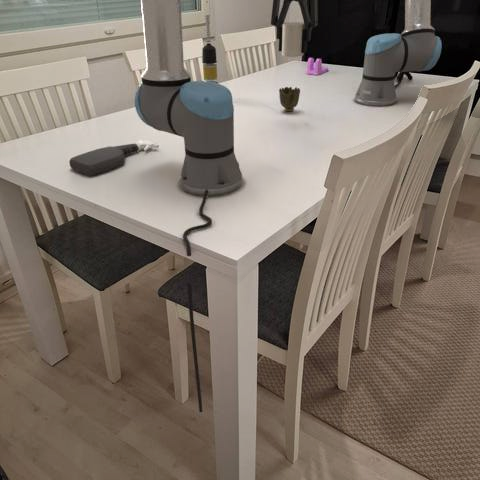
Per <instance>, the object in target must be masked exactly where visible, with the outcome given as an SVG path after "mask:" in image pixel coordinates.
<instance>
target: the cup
mask: <svg viewBox="0 0 480 480" xmlns="http://www.w3.org/2000/svg"><path fill="white" fill-rule="evenodd" d="M278 91H279V94H278V95H279V103H280V106H281V107H283V112H285V113H288V114H290V113H293V112H294V111H295V108H296V107H297V106H298V104H299V101H300V94H301V89H300V87H294V88H292V86H290V87H289V86H285V87H280V88H279V90H278Z"/></svg>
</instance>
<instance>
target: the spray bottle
mask: <svg viewBox="0 0 480 480" xmlns="http://www.w3.org/2000/svg"><path fill="white" fill-rule="evenodd" d="M159 148H160V145H159V144H158V143H155V142H151V141H148V140H144V139H139V140H138V141H137V142H135V143H129V144H128V143H126V144H122V145H113V146H105V147H100V148H97V149H94V150H90V151H87V152H83V153H81V154H78V155H74V156H73V157H70V159H69V161H68V162H69V167H70V168H71V169H72V170H74V171H75V172H78V173H81V174H83V175H85V176H89V177H90V176H91V177H92V176H95V175H99V174H102V173H105V172H107V171H110V170H113V169H116V168H118V167H120V166H122V165H123V164H124V163H125V158H126V156H127V155H131V154H133V153H138V151H140V150H143V151H144V152H146V151H147V150H149V149H159Z"/></svg>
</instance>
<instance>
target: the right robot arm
mask: <svg viewBox="0 0 480 480" xmlns="http://www.w3.org/2000/svg"><path fill="white" fill-rule="evenodd" d="M431 1H432V0H404V30H403V31H402V32H401V33H394V32H392V33H391V32H390V33H381V34H376V35H374V36H371V37H369V39H368V40H367V42H366V45H365V50H364V61H363V69H362V77H361V81H360V84H359V85H358V88H357V90H356V93H355V95H354V101H355V102H356V103H358V104H360V105H364V106H371V107H387V106H392V105H395V104H396V103H397V92H396V88H397V87H399V86H400V85H401V83H402V81H399V82H398V83H396V84H395V79H396V78H395V72H398V73H400V72H423V71H424V72H425V71H430V70H431V69H432V68H434V67H435V65H436V64H437V62H438V61H439V59H440V56H441V53H442V47H443V46H442V40H441V37H439V36H437V35H436V34H435V33H436V29H435V28H434V27H433V26H432V25H431V6H432V5H431V4H432V3H431ZM460 5H461V0H453V4H452V12H453V11H459V10H460ZM394 78H395V79H394Z"/></svg>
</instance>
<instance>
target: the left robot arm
mask: <svg viewBox="0 0 480 480" xmlns="http://www.w3.org/2000/svg"><path fill="white" fill-rule="evenodd" d="M309 1H310V13H309V8H308V4H307V2H308V1H307V0H283V1H282V6H281V9H280V5H281V0H273V1H272V9H271V17H270V25H271V26H273V27H276V39H277V40H278V52H282V28H283V23H285V20H286V18H287V15H288V11H289V9H290V6H291V4H292V2H296V3H297V2H298V5H299V9H300V12H301V16H302V20H303V23H304V24H305V29H303V33H302V51H301V53H304V54H305V53H307V52H308V42H309V41H311V38H312V29H313V28H314V27H317V26H318V25H319V17H318V15H319V13H318V0H309ZM140 4H141V14H142V15H141V16H142V25H143V35H144V36H143V37H144V49H145V57H146V58H145V60H146V69H145V70H144V71H143V72H142V74H141V83H140V84H139V85H138V86H137V90H136V91H135V93H134V108H135V111H136V114H137V116H138V117H139V119H140V120H141V121H142V122H143V123H144V124H145V125H147V126H149V127H151V128H153V129H154V130H156V131H159V132H160V131H161V132H164V133H169V134H171V135H174V136H178V137H182V138H183V143H184V154H185V155H184V158H183V164H182V168H181V171H180V176H179V183H180V184H179V185H180V188H181V189H182V191H184V192H186V193H187V194H190V195H194V196H199V197H202V200H201V204H200V206H199V208H198V213H199V216H200V217H201V218H203V219H205V220H206V221H207V222H206V223H204V224H200V225H196V226H195V225H194V226H192V227H189V228H187V229H185V231H184V232H183V234H182V239H183V241H184V243H185V247H186V256H187V257H191V256H192V250H191V249H192V248H191V243H190V240H189V238H188V235H189V233H191V232H193V231H197V230H202V229H205V228H208V227H209V226H211V225H212V223H213V219H212V218H211V217H209V216H208V215H206V214H205V213H203V211H204V207H205V205H206V201H207V198H208V197H221V196H224V195H229V194H232V193H234V192H235V191H237V190H239V189H240V188H241V187H242V185H243V174H242V171H241V168H240V163H239V160H238V159H237V157H236V154H235V125H234V124H235V121H234V119H235V115H234V114H235V113H234V112H235V108H234V107H235V106H234V102H233V95H232V92H231V90H230V89H229V87H227V86H225V85H223V84H221V83H219V82H218V83H215V82H207V81H206V80H193V81H192V77H191V73H190V72H189V70H187V69H186V68H185V63H184V45H183V41H184V40H183V24H182V6H181V5H182V3H181V0H140ZM186 283H187V300H188V312H189V313H188V314H189V324H190V325H189V326H190V335H191V345H192V354H193V355H192V357H193V364H194V373H195V382H196V383H195V384H196V391H197V392H196V393H197V401H198V411H199V413H202V412H203V402H202V401H203V400H202V392H201V381H200V372H199V371H200V370H199V361H198V352H197V343H196V342H197V341H196V329H195V319H194V307H193V306H194V305H193V290H192V283H191V282H188V281H187V282H186Z"/></svg>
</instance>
